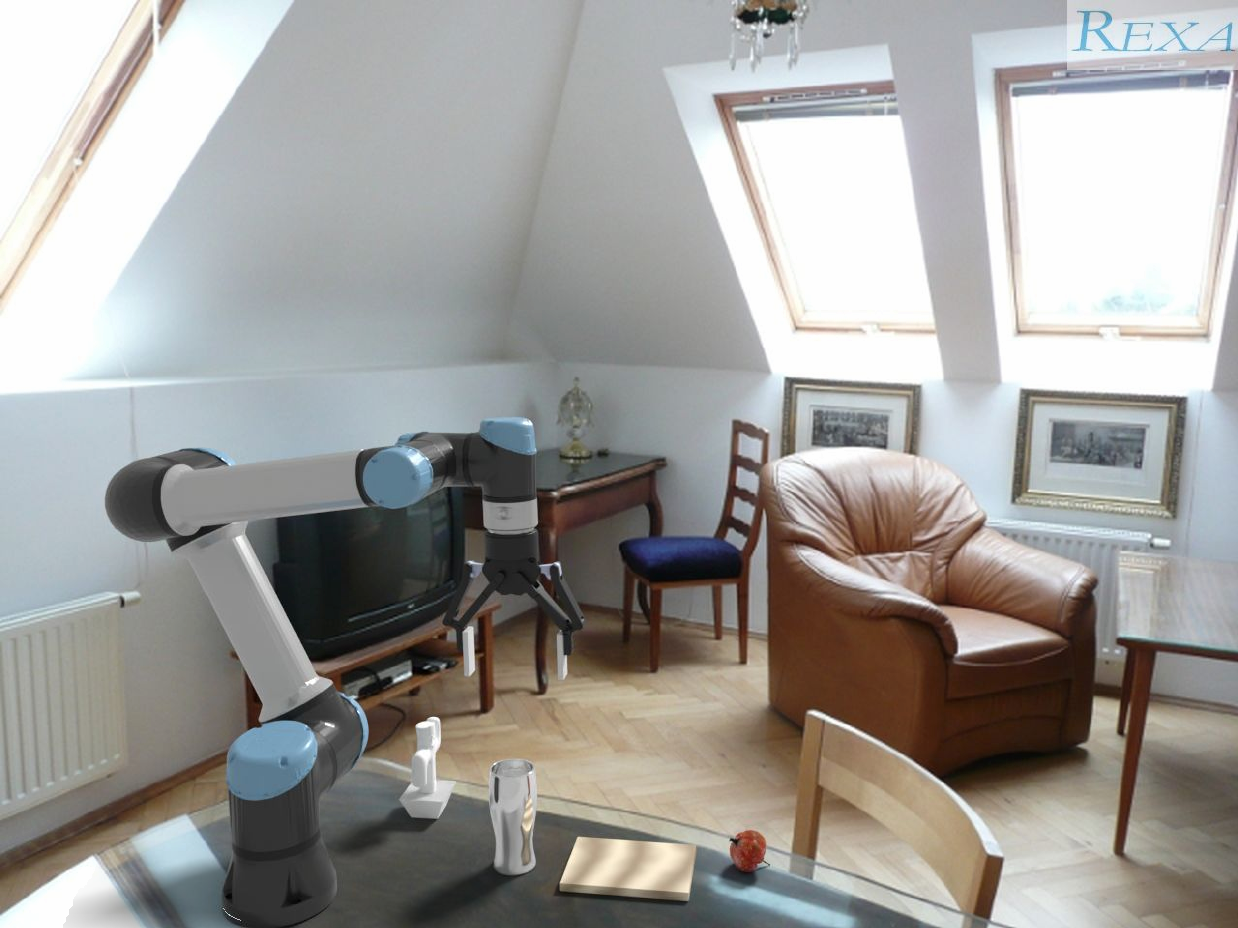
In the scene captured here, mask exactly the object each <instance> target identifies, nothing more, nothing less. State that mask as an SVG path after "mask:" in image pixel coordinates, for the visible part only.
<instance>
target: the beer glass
mask: <svg viewBox="0 0 1238 928" xmlns="http://www.w3.org/2000/svg"><path fill="white" fill-rule="evenodd" d="M488 775H489V779H488V804H489V805H488V806H489V811H490V817H491V822H492V826H493V831H494V835H495V852H494V853H495V855H494V860H493V868H494V869H495V871H496V872H498V873H499V874H502V875H506V876H519V875H523V874H527V873H529V872H531V871H532V870H533V869H534V868H535V866H536V862H537V861H536V855H535V851H534V845H533V836H534V835H533V834H534V833H533V832H534V827H535V822H536V821H535V820H536V815H537V804H538V790H537V789H538V787H537V777H536V776H537V775H536V766H535V764H534V762H532V761H531V760H529V759H526V758H520V757H519V758H518V757H517V758H516V757H515V758H513V757H512V758H511V757H510V758H503V759H501V760H497V761H496V762H494V763H492V764H491V765H490V767H489V774H488Z"/></svg>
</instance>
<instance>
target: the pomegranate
mask: <svg viewBox="0 0 1238 928" xmlns="http://www.w3.org/2000/svg"><path fill="white" fill-rule="evenodd" d="M728 842H729V843H730V842H731V843H730V847H729V855H730V858H731V860H732V862H733V863H734V865H735V867H736V868H737V869H739V870H740V871H741V872H744V873H752V872H754V871H755V872H756V870H757V867H758V865H760V864H762V863H764V864H766V865H768V866H770V865H771V864H770V863H769V862H767V861H766V860H765V855H766V852H767V841H766V838H765V837H764V835H763V834H762V833H760V832H758V831H756V830H752V829H750V830H749V829H748V830H744V831H741V832H739V833H737V834H736V835H735V838H732V837H730V838H729V840H728Z"/></svg>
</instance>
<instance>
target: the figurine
mask: <svg viewBox="0 0 1238 928" xmlns="http://www.w3.org/2000/svg"><path fill="white" fill-rule="evenodd" d="M415 731H416V737H417V740H416V741H417V749H416V752H415V753H414V754H413V756H412V758H411V763H410V765H411V782H410V784H409V785H408V787H407V788H406V789H405V791H404V792H403V793H402V795H400V798H399V799H398V800H399V802H400V803H401V805H402V806H403V808H405V810H406V812H407V813H408V814H409V816H410V817H411V818H417V819H418V818H419V819H435V820H437V819H439V818H440V816H441V815H442V813H443V811H444V809H445V808H446V806H447V804H448V801H449V800H450V797H451V794H452V793H453V791H454V787H455V785H456V781H455V780H453V781H452V780H437V770H436V769H437V768H436V767H437V766H436V755H437V752H438V750H439V749H440V747H441V741H442V733H441V732H442V731H441V720H440V718H439V717H436V716H431V717H428V718H427V719H426V721H421V722H419V723H417V724H416V725H415Z"/></svg>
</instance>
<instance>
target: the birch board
mask: <svg viewBox="0 0 1238 928" xmlns="http://www.w3.org/2000/svg"><path fill="white" fill-rule="evenodd" d="M696 856H697V844H687V843H674V842H658V841H644V840H629V839H615V838H614V839H613V838H599V837H587V836H586V837H585V836H577V838H576V840H575V843H574V845H573V847H572V851H571V853H570V855H569V858H568V861H567V863H566V866H565V868H564V871H563V874H562V876H561V879H560V881H559V891H560V892H567V893H580V894H592V895H607V896H619V897H629V898H645V899H657V900H670V901H672V900H673V901H683V902H689V900H690V896H691V895H690V894H691V889H692V888H691V887H692V882H693V875H694V869H695V862H696Z"/></svg>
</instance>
